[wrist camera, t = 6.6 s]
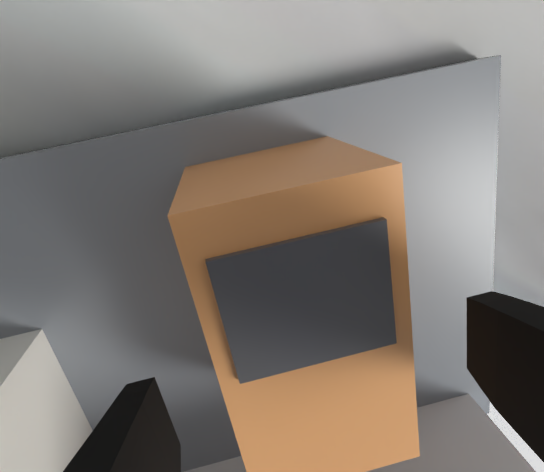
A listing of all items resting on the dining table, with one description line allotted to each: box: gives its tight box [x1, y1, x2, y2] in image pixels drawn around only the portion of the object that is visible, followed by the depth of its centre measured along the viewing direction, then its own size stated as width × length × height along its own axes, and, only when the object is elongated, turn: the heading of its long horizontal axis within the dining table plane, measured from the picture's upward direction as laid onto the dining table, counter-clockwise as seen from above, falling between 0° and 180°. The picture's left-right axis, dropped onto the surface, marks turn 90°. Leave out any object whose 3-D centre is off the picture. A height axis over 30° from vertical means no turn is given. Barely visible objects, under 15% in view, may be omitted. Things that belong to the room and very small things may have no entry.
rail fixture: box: [0, 55, 536, 472], centre depth 11 cm, size 15×22×7 cm
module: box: [167, 136, 420, 472], centre depth 11 cm, size 8×4×5 cm, turn 11°
